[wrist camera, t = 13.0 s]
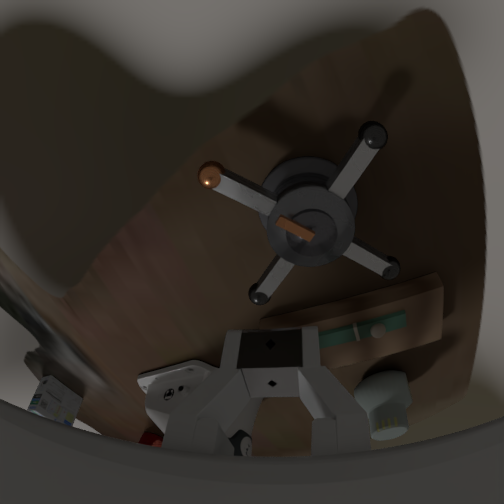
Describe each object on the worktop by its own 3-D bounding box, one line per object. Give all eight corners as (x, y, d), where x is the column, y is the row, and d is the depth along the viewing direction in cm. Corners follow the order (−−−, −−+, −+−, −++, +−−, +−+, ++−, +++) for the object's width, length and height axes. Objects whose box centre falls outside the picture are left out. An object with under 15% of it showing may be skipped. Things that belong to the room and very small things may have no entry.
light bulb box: (41, 376, 61) (25, 409, 52) (51, 373, 58) (33, 409, 49) (73, 400, 65) (59, 432, 57) (84, 398, 63) (70, 434, 54)
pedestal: (278, 253, 32) (278, 259, 31) (243, 175, 27) (241, 180, 27) (364, 228, 29) (366, 234, 29) (340, 143, 25) (342, 146, 24)
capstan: (451, 180, 24) (475, 203, 20) (333, 315, 35) (337, 348, 31) (260, 53, 20) (255, 51, 16) (169, 242, 31) (153, 272, 27)
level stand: (286, 362, 43) (285, 388, 39) (260, 319, 38) (257, 346, 34) (435, 325, 36) (444, 349, 33) (436, 271, 31) (449, 297, 28)
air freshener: (348, 372, 44) (354, 430, 36) (400, 355, 41) (412, 414, 33) (366, 399, 49) (371, 449, 41) (409, 385, 46) (419, 435, 38)
